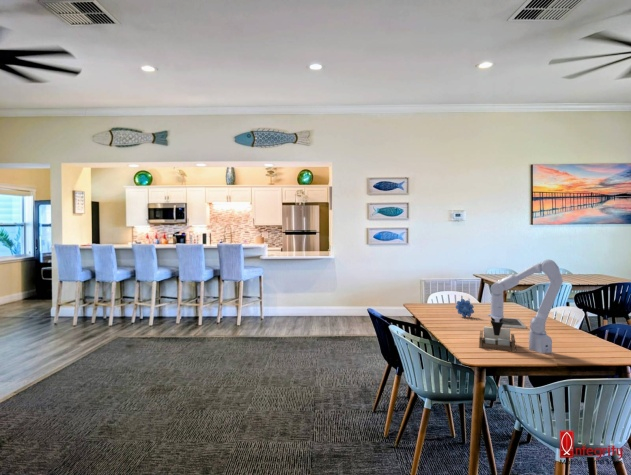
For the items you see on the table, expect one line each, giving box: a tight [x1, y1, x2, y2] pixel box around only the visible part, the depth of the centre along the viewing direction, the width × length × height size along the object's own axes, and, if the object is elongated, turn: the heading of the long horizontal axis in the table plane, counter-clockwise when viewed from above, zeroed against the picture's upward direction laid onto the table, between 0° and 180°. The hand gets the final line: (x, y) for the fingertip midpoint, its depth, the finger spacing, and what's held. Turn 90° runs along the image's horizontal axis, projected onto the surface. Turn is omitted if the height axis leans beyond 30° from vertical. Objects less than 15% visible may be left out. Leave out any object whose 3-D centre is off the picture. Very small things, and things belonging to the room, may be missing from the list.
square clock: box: [501, 317, 527, 330], centre depth 245 cm, size 16×3×21 cm
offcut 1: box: [485, 338, 495, 344], centre depth 194 cm, size 2×4×4 cm, turn 66°
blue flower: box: [455, 298, 475, 318], centre depth 263 cm, size 12×7×12 cm, turn 78°
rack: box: [478, 330, 516, 353], centre depth 201 cm, size 24×16×6 cm, turn 156°
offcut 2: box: [498, 338, 511, 346], centre depth 192 cm, size 2×5×4 cm, turn 66°
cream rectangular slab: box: [483, 326, 511, 341], centre depth 200 cm, size 2×12×8 cm, turn 66°
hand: (496, 333), depth 200 cm, fingers open, 7 cm apart
